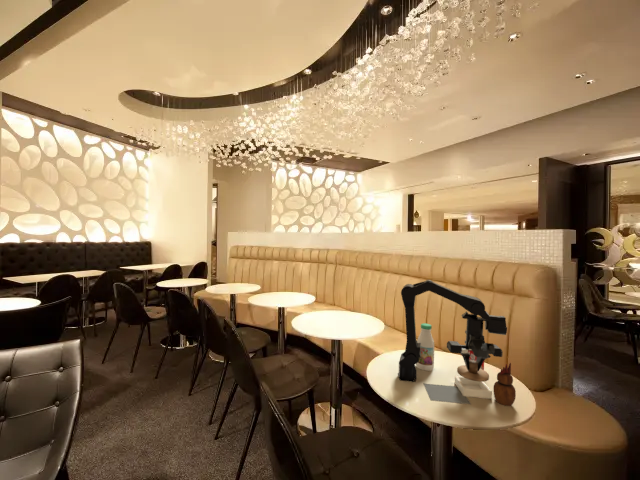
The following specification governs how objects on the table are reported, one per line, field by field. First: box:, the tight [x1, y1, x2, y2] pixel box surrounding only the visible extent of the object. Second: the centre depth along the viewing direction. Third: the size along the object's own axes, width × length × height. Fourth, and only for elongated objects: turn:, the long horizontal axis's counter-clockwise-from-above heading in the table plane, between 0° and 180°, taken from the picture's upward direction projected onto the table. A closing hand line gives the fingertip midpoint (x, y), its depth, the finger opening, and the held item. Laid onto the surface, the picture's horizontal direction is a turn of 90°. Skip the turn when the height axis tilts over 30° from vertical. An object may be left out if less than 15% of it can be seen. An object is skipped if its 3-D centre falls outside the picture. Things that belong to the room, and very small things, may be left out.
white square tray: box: [454, 375, 493, 400], centre depth 113 cm, size 10×10×4 cm
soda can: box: [468, 351, 485, 371], centre depth 126 cm, size 7×7×12 cm
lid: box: [456, 360, 490, 382], centre depth 113 cm, size 11×11×5 cm
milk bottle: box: [415, 323, 435, 371], centre depth 133 cm, size 8×8×20 cm
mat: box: [423, 383, 472, 405], centre depth 111 cm, size 14×12×1 cm
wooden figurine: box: [493, 362, 517, 407], centre depth 106 cm, size 7×6×15 cm
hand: (472, 370), depth 113 cm, fingers closed on lid, 3 cm apart
